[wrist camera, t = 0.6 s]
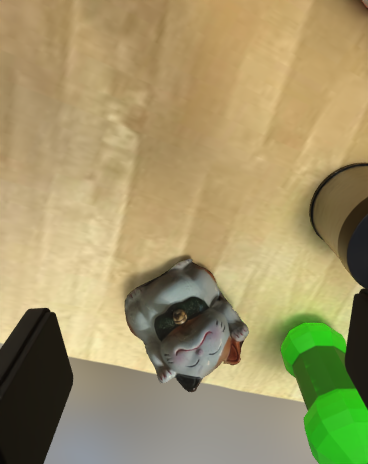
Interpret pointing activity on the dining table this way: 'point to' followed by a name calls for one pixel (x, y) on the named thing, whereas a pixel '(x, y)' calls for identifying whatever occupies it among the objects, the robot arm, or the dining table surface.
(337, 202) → the metal canister
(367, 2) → the cracker box
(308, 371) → the plastic bottle
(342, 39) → the dining table surface
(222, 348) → the lucky cat figurine
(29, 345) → the robot arm
